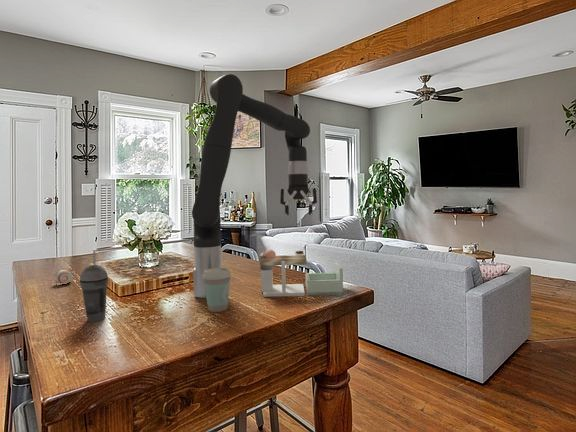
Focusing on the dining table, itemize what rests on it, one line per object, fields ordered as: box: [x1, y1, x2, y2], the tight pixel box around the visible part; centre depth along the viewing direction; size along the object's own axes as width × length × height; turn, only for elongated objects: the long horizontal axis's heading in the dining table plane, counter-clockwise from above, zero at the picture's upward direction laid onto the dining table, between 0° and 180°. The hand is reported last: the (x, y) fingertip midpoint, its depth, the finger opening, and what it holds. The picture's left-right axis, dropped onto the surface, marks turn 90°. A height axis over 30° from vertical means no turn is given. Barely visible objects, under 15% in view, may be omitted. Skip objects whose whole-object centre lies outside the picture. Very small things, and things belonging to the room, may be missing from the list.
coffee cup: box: [202, 267, 232, 313], centre depth 110 cm, size 8×9×12 cm
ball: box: [264, 249, 277, 259], centre depth 128 cm, size 4×4×4 cm
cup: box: [305, 261, 344, 297], centre depth 129 cm, size 12×12×9 cm
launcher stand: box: [259, 261, 306, 298], centre depth 128 cm, size 15×12×12 cm
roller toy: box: [53, 269, 73, 284], centre depth 148 cm, size 4×6×6 cm
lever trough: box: [259, 250, 307, 270], centre depth 131 cm, size 16×13×5 cm
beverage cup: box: [79, 249, 109, 323], centre depth 104 cm, size 7×7×20 cm
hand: (298, 214), depth 143 cm, fingers open, 8 cm apart
